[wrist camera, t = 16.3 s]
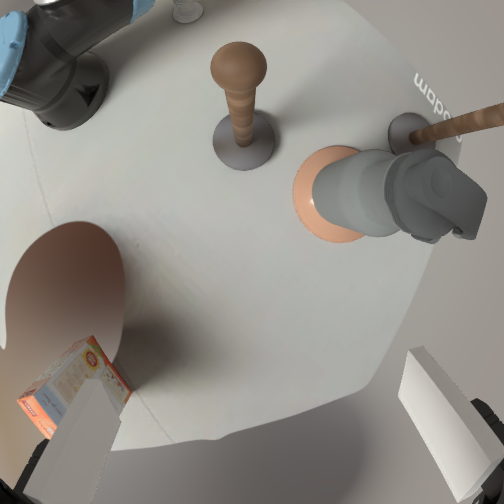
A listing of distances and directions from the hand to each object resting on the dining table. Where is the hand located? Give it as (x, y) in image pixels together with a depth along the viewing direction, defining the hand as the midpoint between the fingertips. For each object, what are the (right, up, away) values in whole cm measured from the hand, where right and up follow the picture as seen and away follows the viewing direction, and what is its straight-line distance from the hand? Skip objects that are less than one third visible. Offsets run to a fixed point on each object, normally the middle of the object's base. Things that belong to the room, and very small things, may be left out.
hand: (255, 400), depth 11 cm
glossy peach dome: (+14, +15, +34) cm, 39 cm away
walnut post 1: (-1, +22, +32) cm, 39 cm away
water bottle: (+14, +15, +33) cm, 39 cm away
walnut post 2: (+27, +25, +32) cm, 48 cm away
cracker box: (-29, -17, +39) cm, 51 cm away
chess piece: (-11, +47, +28) cm, 56 cm away
